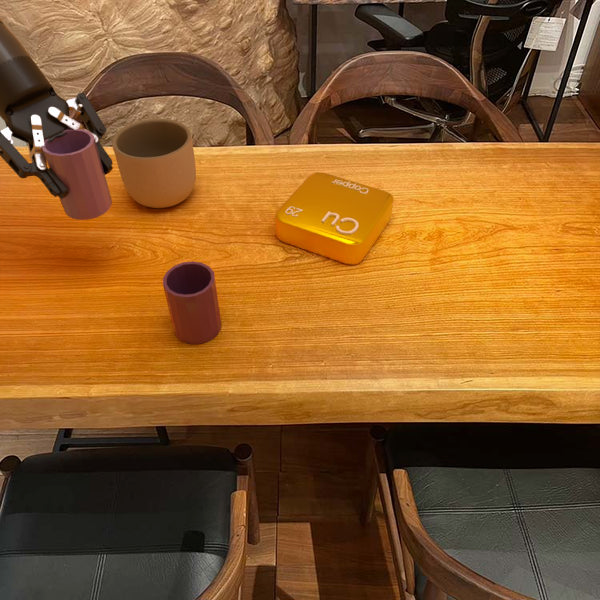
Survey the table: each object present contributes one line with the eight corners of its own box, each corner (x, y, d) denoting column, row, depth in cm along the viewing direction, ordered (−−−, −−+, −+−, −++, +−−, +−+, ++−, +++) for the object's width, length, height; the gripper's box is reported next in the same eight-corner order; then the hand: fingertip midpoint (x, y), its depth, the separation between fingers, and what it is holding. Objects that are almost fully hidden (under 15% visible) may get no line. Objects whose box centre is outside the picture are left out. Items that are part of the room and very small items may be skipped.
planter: (149, 168, 107) (137, 112, 99) (211, 181, 104) (204, 125, 96) (112, 207, 98) (96, 150, 91) (178, 222, 95) (167, 165, 88)
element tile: (394, 215, 97) (398, 191, 94) (357, 269, 88) (359, 244, 84) (314, 190, 102) (314, 166, 98) (270, 238, 93) (269, 214, 89)
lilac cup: (72, 225, 78) (49, 160, 71) (58, 201, 82) (35, 137, 75) (118, 210, 80) (100, 146, 73) (103, 187, 84) (84, 123, 77)
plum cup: (185, 351, 77) (175, 303, 70) (166, 320, 80) (155, 273, 74) (229, 332, 79) (223, 284, 73) (208, 303, 83) (201, 255, 76)
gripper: (-47, 77, 67) (47, 200, 70) (59, 37, 75) (139, 149, 78) (-52, 106, 73) (35, 218, 76) (47, 66, 81) (121, 169, 84)
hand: (87, 183), depth 77 cm, fingers closed on lilac cup, 6 cm apart
